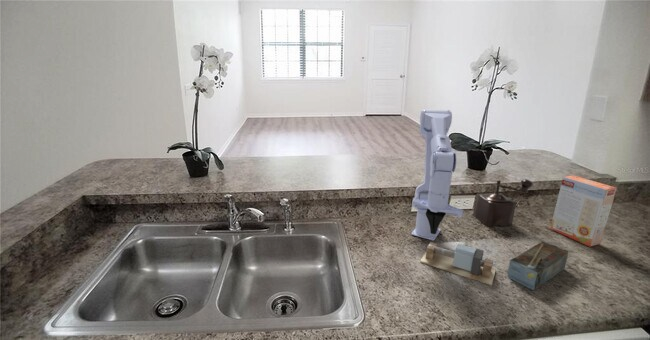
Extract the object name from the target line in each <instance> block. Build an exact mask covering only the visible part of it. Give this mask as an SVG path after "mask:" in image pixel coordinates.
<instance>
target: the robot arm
mask: <svg viewBox="0 0 650 340" xmlns="http://www.w3.org/2000/svg"><path fill="white" fill-rule="evenodd" d="M452 120H453V113H452V111H451V110H449V109H448V110H444V109H443V110H442V109H441V110H440V109H425V108H422V110H421V112H420V118H419V132H420V134H419V135H421V136H423V137H424V141H425V150H424V151H425V153H424V154H425V155H424V173H423V176H424V177H423V183H421V184H419V185H418V186H417V187H416V188H415V192H414V198H413V199H412V201H411V202H412V204H411V206H412V208H414V209H416V210H417V211H416V223H415V228H414V229H413V230H412V231H411V233H410V235H411V236H416V237H419V238H423V239H427V240H429V241H432V242H434V241H435V240H436V238H437V236H439V233H440V232H441V228H439V226H440V224H441V222H442V221H443V219H444V218H445V216H446V215H450V216H454V217H457V218H459V219H461V218H463V215H464V209H463V208H462V209H461V208H458V207H456V206H452V205H451V204H449V197H450V191H451V183H452V177H453V173H454V172H455V171H456V167H457V153H456V152H455V150H452V143H451V139H450V137H449V136H447V135H448V133H449V130H450V128H451V126H452Z"/></svg>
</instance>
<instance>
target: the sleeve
mask: <svg viewBox="0 0 650 340" xmlns="http://www.w3.org/2000/svg"><path fill="white" fill-rule="evenodd" d="M476 249H477V248H476V247H472V246H468V245H465V244H461V243H457V245H456V247H455V251H454V252H455V255H454V261H453V266H455V267H458V268H461V269H465V270H468V271H471V267H472V261H473V256H474V254H475V251H476Z"/></svg>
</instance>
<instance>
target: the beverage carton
mask: <svg viewBox="0 0 650 340" xmlns="http://www.w3.org/2000/svg"><path fill="white" fill-rule="evenodd" d="M568 254H569V250H566V249H563V248H560V247H557V246H555V245H553V244H550V243H547V242H545V241H544V240H543V241H541V242H539V243H537V244H535V245H533V246H532V247H530V248H529V249H527V250H525V251H523V252H521V253H520V254H518V255H517V256H516V257H513V258H511V259H510V260H509V264H508V265H509V266H508V269H507V278H508V279H511V280H513V281H515V282H517V283H518V284H520V285H522V286H524V287H526V288H528V289H530V290H531V291H535V290H536V289H538V288H539V287H542V285H544V284H545V283H547V282H548V281H549V280H551V279H552V278H554V277H555V276H556V275H557V274H560V272H561V271H563V270H564V269H566V263H567V259H568V256H569V255H568Z"/></svg>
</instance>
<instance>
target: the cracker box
mask: <svg viewBox="0 0 650 340" xmlns="http://www.w3.org/2000/svg"><path fill="white" fill-rule="evenodd" d="M616 191H617V187H615V186H611V185H609V184H606V183H601V182H598V181H595V180H591V179H588V178H585V177H580V176H578V175H568V176H563V177H562V181H561V185H560V187H559V192H558V196H557V200H556V205H555V208H554V212H553V216H552V220H551V225H550V230H551V231H554V232H556V233H559V234H560V235H563V236H564V237H567V238H570V239H572V240H574V241H576V242H579V243H580V244H583V245H585V246H587V247H594V246H597V245H601V242H602V239H603V235H604V232H605V229H606V225H607V224H608V223H607V222H608V218H609V216H610V213H611V212H610V211H611V209H612V206H613V202H614V199H615V195H616V193H617V192H616Z"/></svg>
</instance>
